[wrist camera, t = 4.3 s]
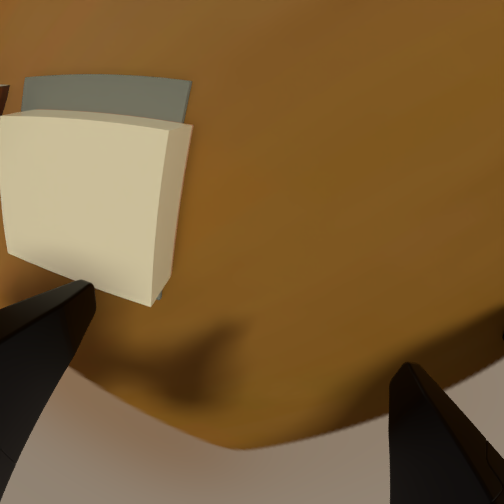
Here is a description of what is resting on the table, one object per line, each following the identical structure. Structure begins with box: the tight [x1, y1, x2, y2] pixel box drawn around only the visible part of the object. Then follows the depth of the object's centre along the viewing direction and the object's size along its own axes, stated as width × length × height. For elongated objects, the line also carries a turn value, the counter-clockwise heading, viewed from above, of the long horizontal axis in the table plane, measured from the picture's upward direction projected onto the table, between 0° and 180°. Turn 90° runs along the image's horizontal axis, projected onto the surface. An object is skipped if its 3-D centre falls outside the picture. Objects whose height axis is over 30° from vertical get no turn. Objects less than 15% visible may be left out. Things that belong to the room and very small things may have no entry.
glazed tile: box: [0, 109, 194, 307], centre depth 13 cm, size 3×8×10 cm
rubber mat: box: [21, 74, 192, 300], centre depth 15 cm, size 11×12×1 cm
